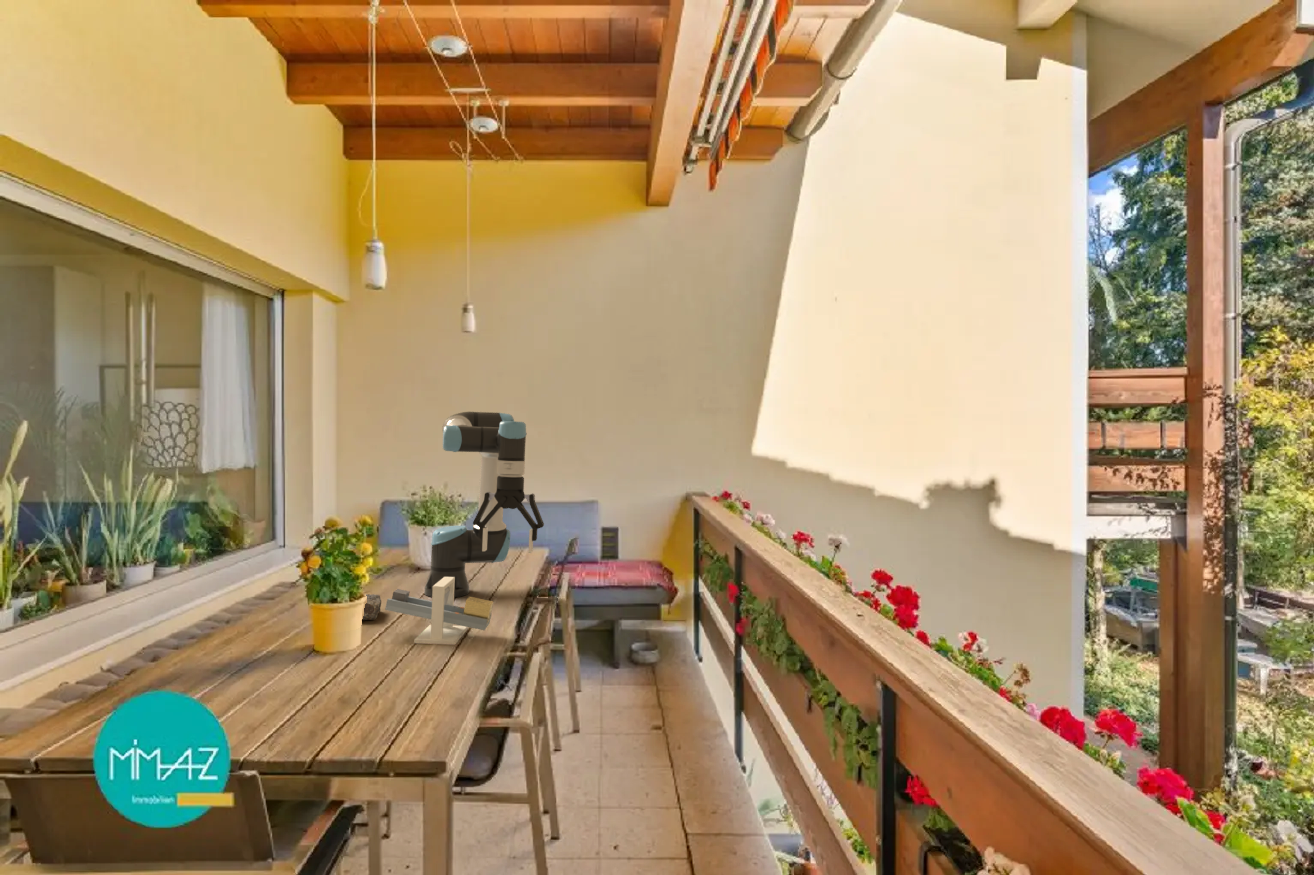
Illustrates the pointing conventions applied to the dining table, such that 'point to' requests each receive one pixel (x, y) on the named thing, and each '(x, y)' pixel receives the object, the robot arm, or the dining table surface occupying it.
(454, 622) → the beam
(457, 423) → the robot arm
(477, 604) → the block
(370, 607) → the rock
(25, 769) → the dining table surface
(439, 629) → the stand
